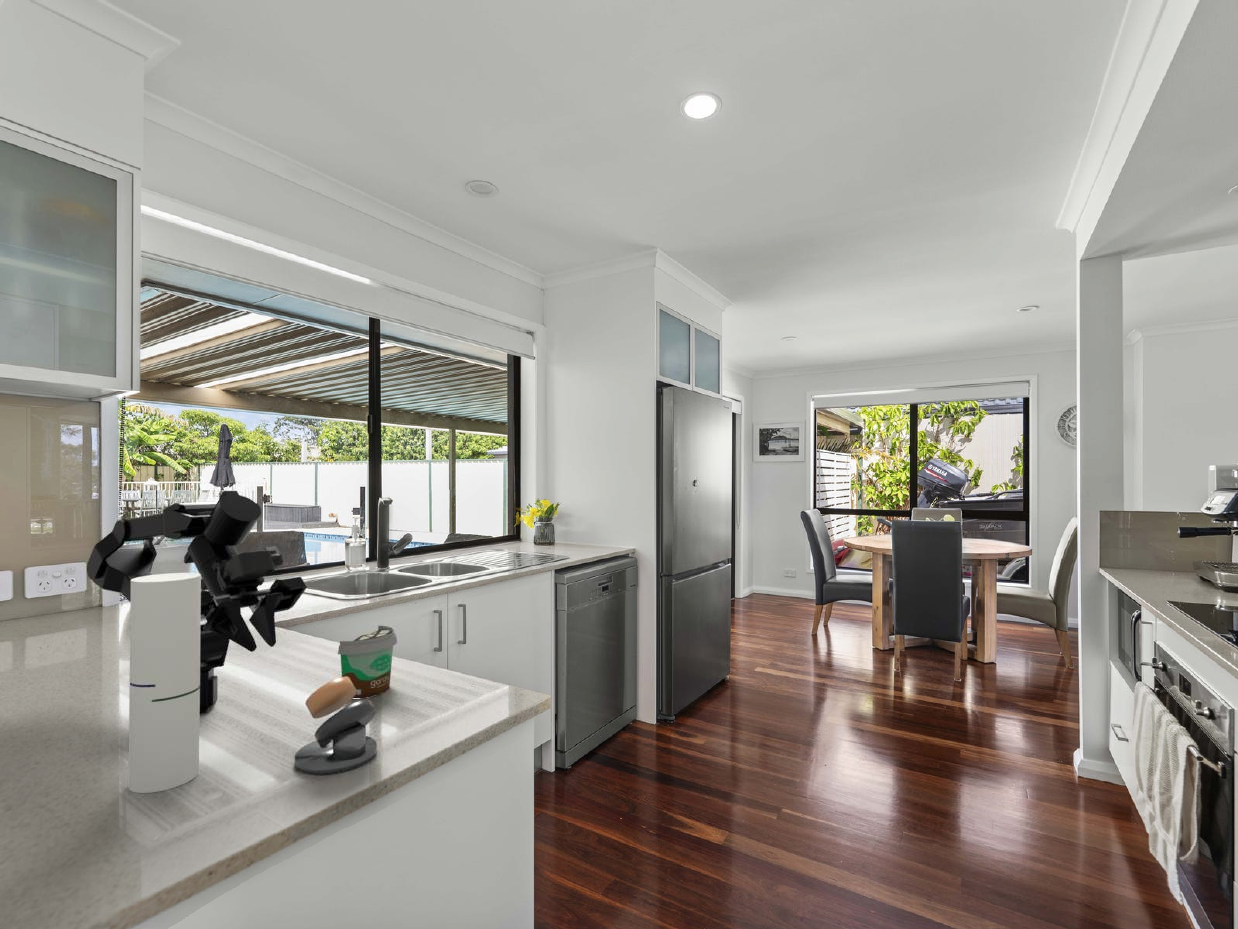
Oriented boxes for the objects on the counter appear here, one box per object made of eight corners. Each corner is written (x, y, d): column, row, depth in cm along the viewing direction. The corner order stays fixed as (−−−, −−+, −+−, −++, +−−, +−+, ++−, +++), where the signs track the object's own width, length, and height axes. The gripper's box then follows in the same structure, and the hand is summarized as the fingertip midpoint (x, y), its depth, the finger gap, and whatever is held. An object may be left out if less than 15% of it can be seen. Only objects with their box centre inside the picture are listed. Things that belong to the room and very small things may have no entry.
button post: (277, 764, 83) (278, 702, 83) (343, 736, 92) (343, 680, 92) (329, 782, 78) (329, 716, 78) (393, 750, 87) (393, 691, 87)
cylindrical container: (152, 766, 82) (154, 573, 83) (210, 764, 83) (212, 572, 83) (113, 794, 75) (116, 582, 75) (177, 792, 76) (179, 581, 76)
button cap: (297, 722, 84) (297, 679, 84) (336, 707, 90) (336, 667, 90) (325, 730, 82) (325, 686, 82) (364, 714, 87) (364, 673, 87)
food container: (370, 705, 104) (371, 644, 104) (337, 702, 105) (337, 642, 105) (410, 681, 116) (410, 626, 116) (379, 678, 117) (380, 624, 117)
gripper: (175, 536, 87) (222, 626, 82) (300, 526, 104) (345, 600, 98) (144, 588, 91) (187, 678, 85) (269, 571, 107) (311, 645, 102)
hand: (264, 647), depth 93 cm, fingers open, 3 cm apart
